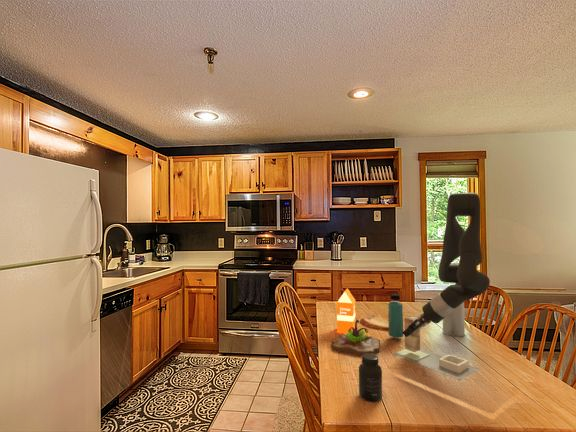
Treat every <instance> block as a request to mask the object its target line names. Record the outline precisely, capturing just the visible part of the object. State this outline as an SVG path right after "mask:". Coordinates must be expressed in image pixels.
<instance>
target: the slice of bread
mask: <svg viewBox="0 0 576 432" xmlns="http://www.w3.org/2000/svg"><path fill="white" fill-rule="evenodd" d="M359 323H360V324H362V325H363V326H365V327H368V328H371V329H376V330H380V331H387V332H389V329H388V327H389V326H388V325H389V319H388V318H384V317H381V316H377V315H375V314H372V315H371V314H370V315H368V316H365V317H364V318H360V320H359Z"/></svg>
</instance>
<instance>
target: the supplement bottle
mask: <svg viewBox="0 0 576 432" xmlns="http://www.w3.org/2000/svg"><path fill="white" fill-rule="evenodd" d="M379 363H380V362H379V356H378V355H377V354H376V353H375V354H370V353H367V354H363V355H362V356H361V363H360V364H359V366H358V394H359V396H360V398H361V399H362V400H364V401H366V402H370V403H371V402H372V403H376V402H379V401H380V400H382V398H383V369H382V367H381V365H380V364H379Z"/></svg>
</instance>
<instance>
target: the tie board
mask: <svg viewBox="0 0 576 432" xmlns="http://www.w3.org/2000/svg"><path fill="white" fill-rule="evenodd" d="M392 355H395V356H396V357H398V358H400V359H404V360H407V361H410V362H412V363H415V364H417V365H420V366H422V367H425V368H428V369H430V370H433V371H436V372H438V373H440V374H443V375H446V376H449V377H450V378H453V379H456V380H459V381H461V380H463V379H465V378H466V377H467V376H469V375H471V374H473V373H475V372H477V371H478V370H479V369H480V367H476V366H473V365H471V364H469V360H468V359H464V358H462V357H459V356H455V355H453V354H446V355H444V356H443V355H440V354H438V353H435V352H432V351H429V350H426V349H423V348H420V350H419V351H416V352H412V351H409V350H406V349H405V348H403V349H401V350H399V351H396V352H393V353H392Z"/></svg>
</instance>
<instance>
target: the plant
mask: <svg viewBox="0 0 576 432" xmlns="http://www.w3.org/2000/svg"><path fill="white" fill-rule="evenodd" d="M359 323H360V320H359V319H356V318H355V329H354V327H351V328H350V329H349V330H348V332H347V334H345V333H341V334H339V335H338V337H335V338H333V339H332V340H331V347H332V348H331V349H332V350H333V351H335V352H338V353H343V354H348V355H353V356H356V357H362V355H363V354H367V353H370V354H375V355H376V354H379V353H380V349H381V340H380V339H378V338H376V337H375V336H369V335H368V333H369V329H368V328H366V327H362V328H361V327H360V328H359V329H358V324H359ZM351 329H353V331H352V330H351ZM365 333H367V334H365Z"/></svg>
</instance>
